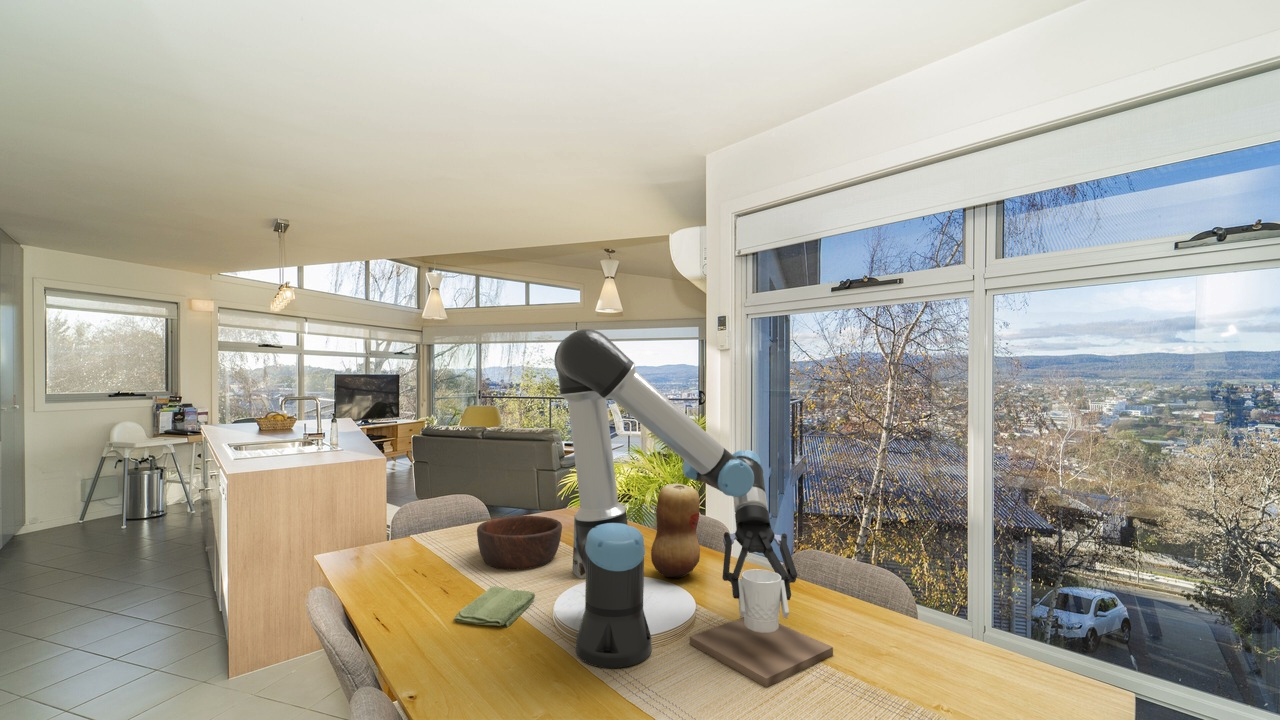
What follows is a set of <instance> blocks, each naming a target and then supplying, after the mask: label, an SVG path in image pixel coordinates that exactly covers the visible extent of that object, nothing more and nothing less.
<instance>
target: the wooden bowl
mask: <svg viewBox="0 0 1280 720" xmlns="http://www.w3.org/2000/svg"><path fill="white" fill-rule="evenodd" d="M562 530H563V525H562V522H561V521H559V520H557V519H555V518H551V517H547V516H539V515H515V516H514V515H513V516H511V515H510V516H503V517H502V516H501V517H497V518H493V519H489V520H487V521H484V522H482V523H480V524H479V525H478V526H477V528H476V536H477V543H478V544H477V545H478V549H479V553H480V555H481V557H482V560H483V561H484V563H486V564H487V565H488V566H490V567H492V568H495V569H500V570H527V569H528V570H529V569H533V568H538V567H541V566H544V565H547V564H548V563H550V562H551V561H552V560H553V559H554V557H555V556H556V554H557V551H558V549H559V546H560V542H561V538H562Z"/></svg>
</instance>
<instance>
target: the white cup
mask: <svg viewBox="0 0 1280 720" xmlns="http://www.w3.org/2000/svg"><path fill="white" fill-rule="evenodd" d="M741 579H742V584H743V593H744V603H745V615H744V623H745V626H746V627H747V628H748V629H750V630H752V631H755V632H760V633H770V632H774V631H776V630H777V629H778V627H779V624H780V619H779V618H780V614H781V613H780V611H781V601H780V600H781V576H780V575H779V574H778V573H776V572H775V571H774V570H773V571H772V570H769V569H762V568H752V569H747V570H744V571H741Z"/></svg>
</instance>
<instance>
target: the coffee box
mask: <svg viewBox="0 0 1280 720" xmlns="http://www.w3.org/2000/svg"><path fill="white" fill-rule="evenodd" d="M573 516H574V517H573V518H574V519H573V523H574V524H573V543H572V544H573V545H572V546H573V547H572V548H573V551H572V573H573V574H574V575H575V576H576V577H577V578H579V579H580V580H584V579H586V573H585V569H584V566H583V564H582V561H581V559H580V557H579V555H578V553H577V549H576V535H577V533H576V524H575V514H574V515H573Z"/></svg>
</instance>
